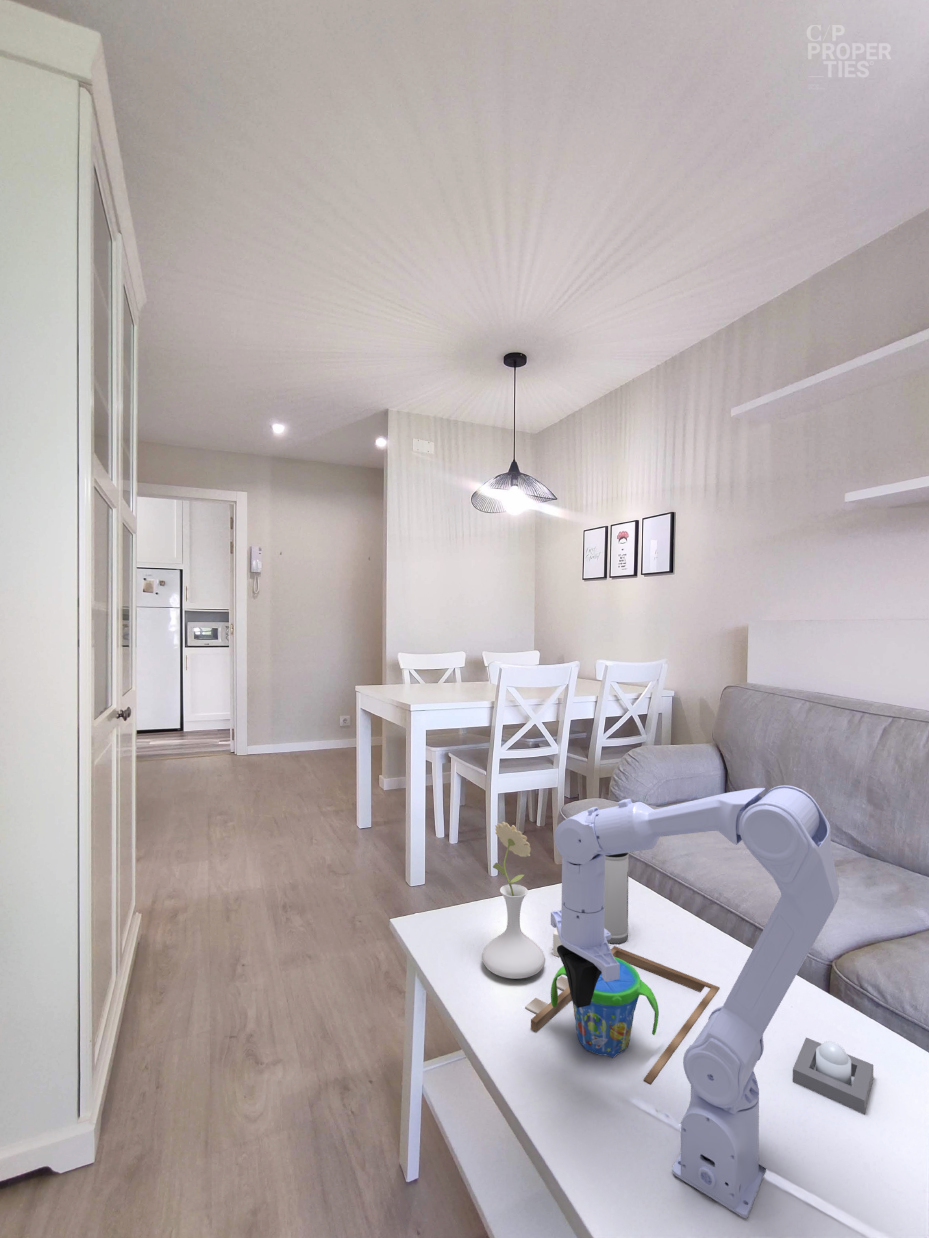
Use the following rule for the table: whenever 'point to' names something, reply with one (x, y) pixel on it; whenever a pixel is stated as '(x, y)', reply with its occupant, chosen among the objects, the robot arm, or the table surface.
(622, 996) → the snack cup
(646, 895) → the table surface
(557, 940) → the die
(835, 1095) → the button box
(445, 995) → the table surface
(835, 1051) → the dome
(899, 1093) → the table surface
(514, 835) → the flower in vase
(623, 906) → the travel mug
